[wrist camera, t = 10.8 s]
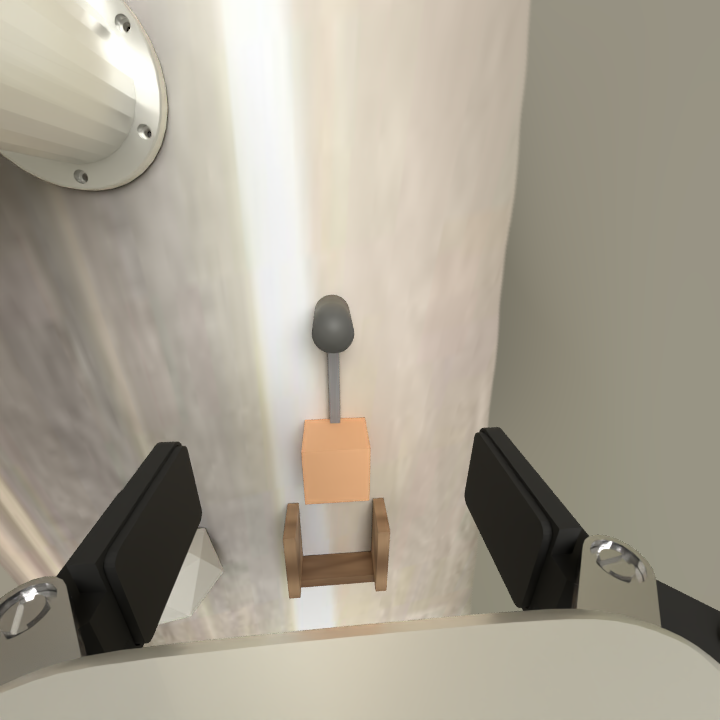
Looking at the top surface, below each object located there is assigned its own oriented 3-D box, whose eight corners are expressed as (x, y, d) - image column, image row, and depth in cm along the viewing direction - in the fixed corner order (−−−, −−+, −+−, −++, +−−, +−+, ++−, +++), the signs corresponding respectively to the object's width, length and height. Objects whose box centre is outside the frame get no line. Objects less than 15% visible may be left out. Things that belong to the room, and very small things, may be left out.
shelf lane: (287, 503, 38) (282, 539, 34) (383, 498, 39) (390, 531, 34) (293, 563, 41) (289, 601, 37) (380, 557, 42) (386, 593, 38)
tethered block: (296, 295, 29) (288, 314, 23) (366, 294, 29) (375, 312, 24) (308, 467, 36) (304, 513, 30) (364, 464, 36) (370, 508, 31)
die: (167, 568, 41) (195, 645, 35) (95, 568, 34) (114, 663, 28) (215, 513, 42) (249, 579, 36) (154, 503, 35) (184, 582, 29)
